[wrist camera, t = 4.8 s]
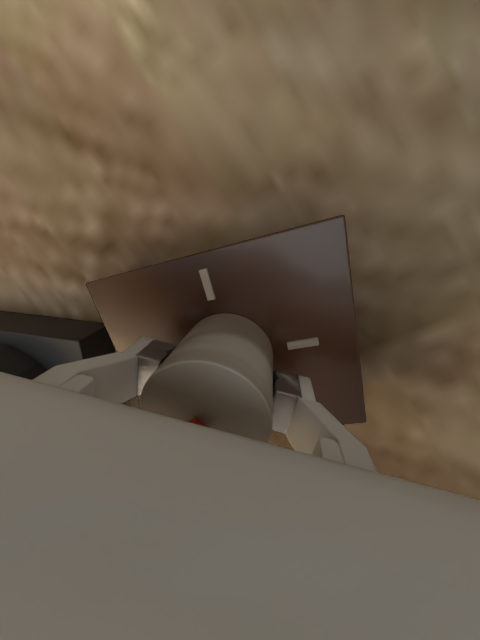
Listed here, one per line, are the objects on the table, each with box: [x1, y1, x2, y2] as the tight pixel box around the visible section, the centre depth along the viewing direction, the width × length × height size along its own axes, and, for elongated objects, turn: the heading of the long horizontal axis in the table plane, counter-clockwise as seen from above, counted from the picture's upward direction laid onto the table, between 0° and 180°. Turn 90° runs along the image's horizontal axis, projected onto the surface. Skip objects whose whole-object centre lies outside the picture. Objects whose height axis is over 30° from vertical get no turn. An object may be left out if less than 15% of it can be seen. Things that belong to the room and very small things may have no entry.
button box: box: [0, 311, 114, 380], centre depth 16 cm, size 11×9×4 cm
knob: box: [139, 313, 274, 443], centre depth 9 cm, size 4×4×5 cm
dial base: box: [86, 215, 366, 431], centre depth 13 cm, size 12×10×3 cm
